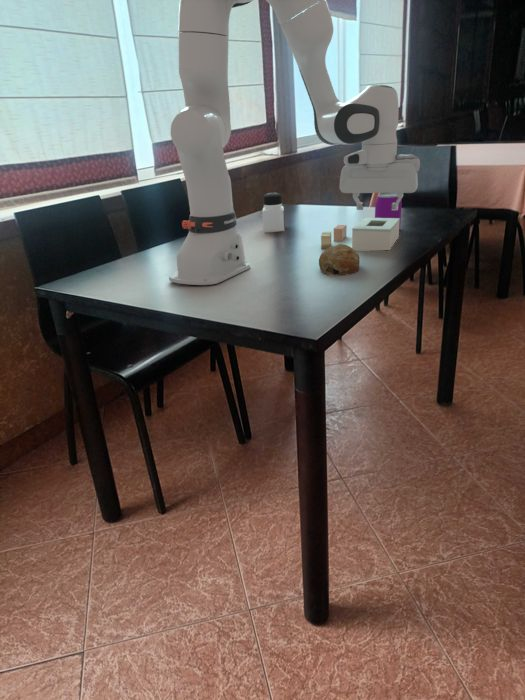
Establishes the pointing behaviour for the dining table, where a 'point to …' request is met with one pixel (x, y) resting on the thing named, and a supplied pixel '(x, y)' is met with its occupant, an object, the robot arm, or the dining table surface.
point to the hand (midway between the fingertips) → (377, 209)
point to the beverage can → (387, 206)
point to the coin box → (375, 234)
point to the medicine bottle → (273, 213)
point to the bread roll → (339, 260)
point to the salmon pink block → (340, 232)
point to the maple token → (326, 240)
